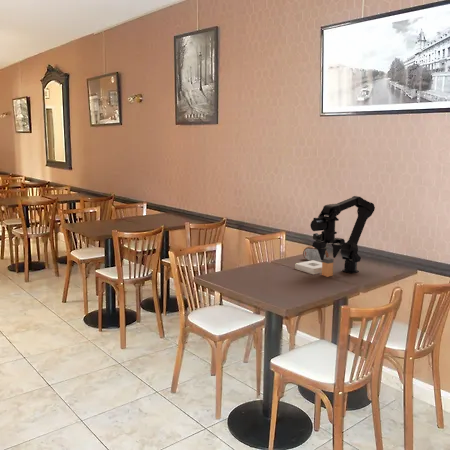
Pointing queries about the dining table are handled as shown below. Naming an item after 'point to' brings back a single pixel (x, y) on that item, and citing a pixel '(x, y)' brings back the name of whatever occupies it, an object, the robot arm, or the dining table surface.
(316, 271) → the socket block
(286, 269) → the dining table surface
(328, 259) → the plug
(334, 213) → the robot arm
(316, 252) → the tin
